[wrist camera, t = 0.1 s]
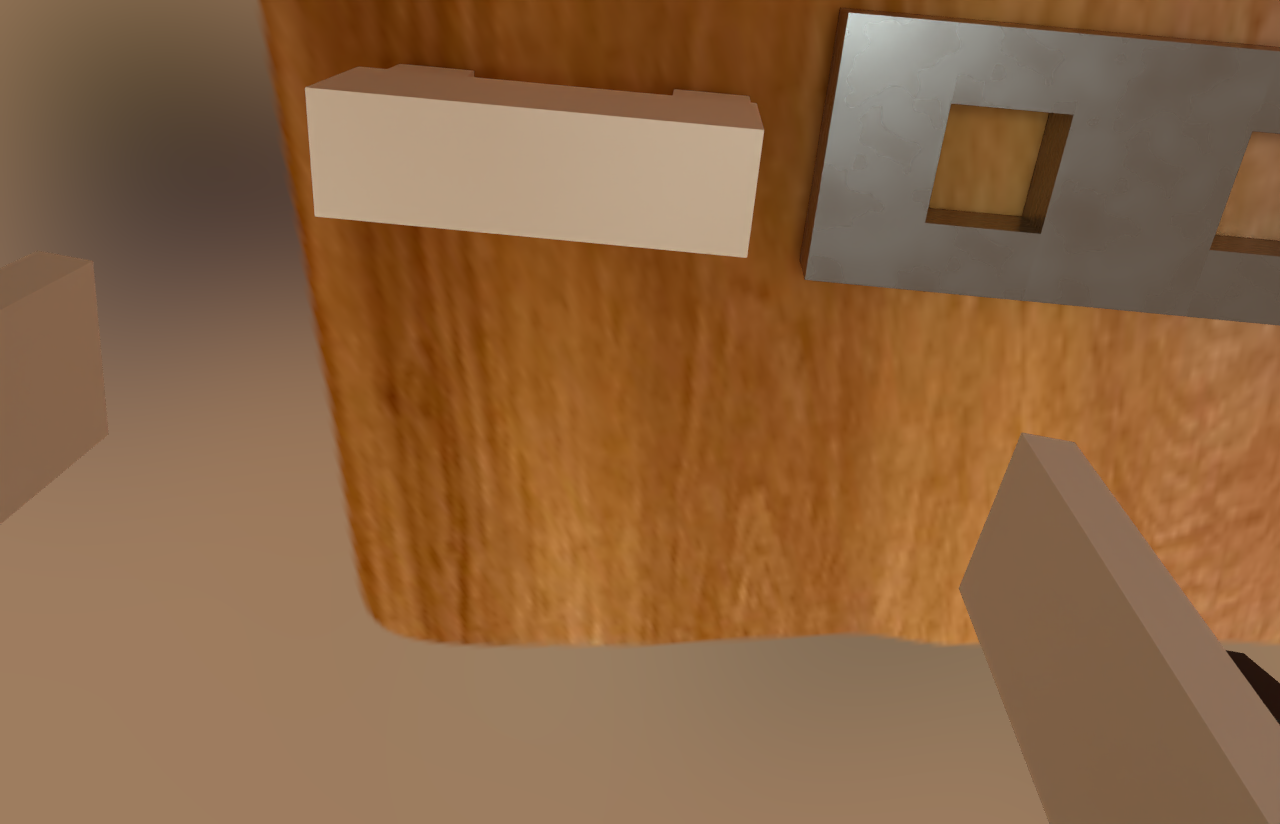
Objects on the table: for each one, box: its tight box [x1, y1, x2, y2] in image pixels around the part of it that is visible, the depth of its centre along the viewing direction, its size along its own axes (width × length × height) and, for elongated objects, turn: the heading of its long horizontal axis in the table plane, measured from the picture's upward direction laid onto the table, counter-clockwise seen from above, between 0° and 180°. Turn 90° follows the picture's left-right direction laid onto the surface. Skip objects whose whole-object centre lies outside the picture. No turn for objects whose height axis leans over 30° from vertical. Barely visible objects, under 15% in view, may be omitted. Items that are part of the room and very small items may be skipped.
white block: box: [305, 64, 764, 258], centre depth 34 cm, size 14×4×10 cm, turn 85°
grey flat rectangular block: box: [800, 8, 1280, 325], centre depth 37 cm, size 24×10×2 cm, turn 85°
